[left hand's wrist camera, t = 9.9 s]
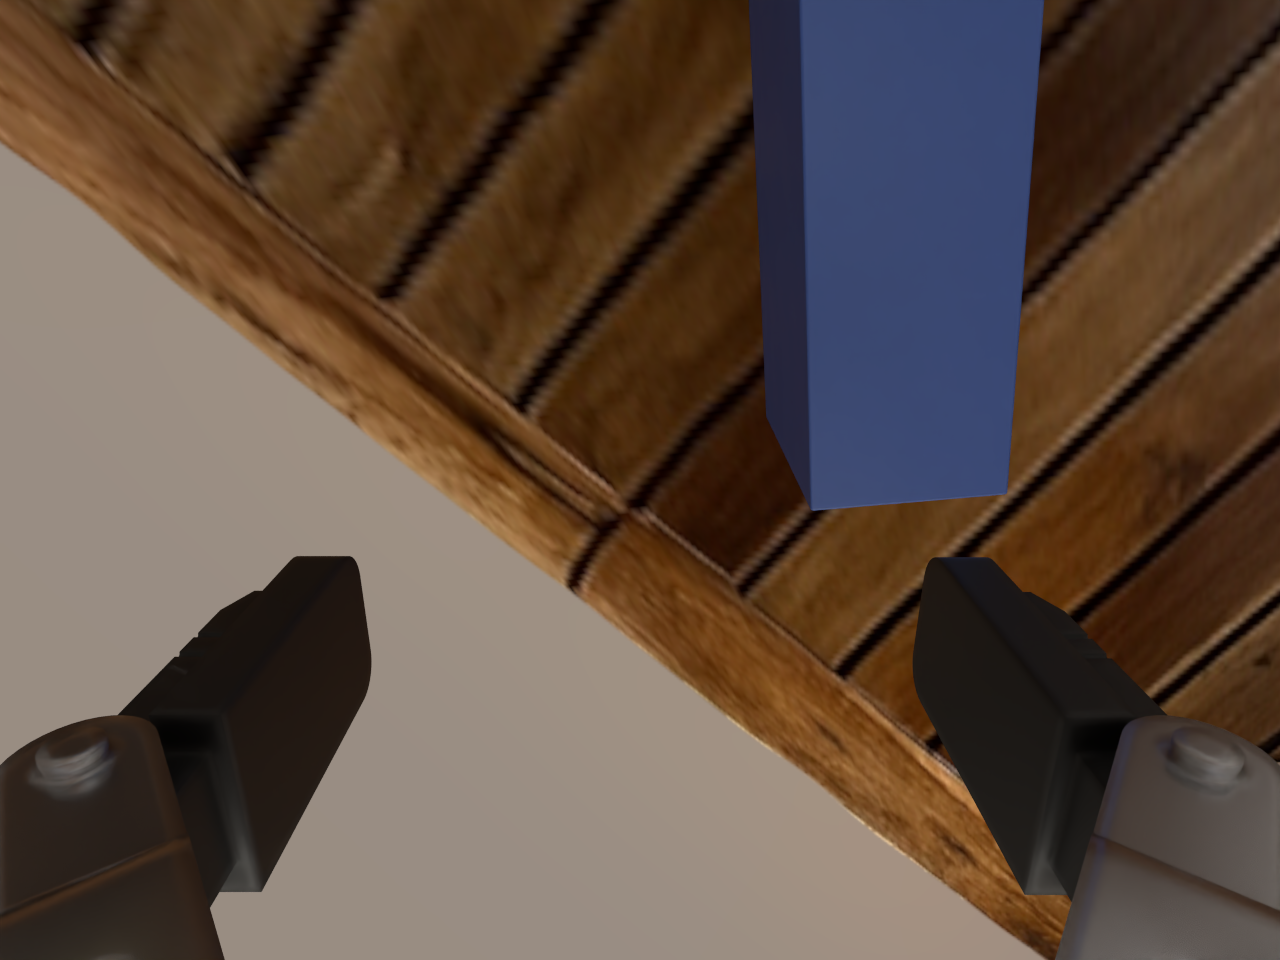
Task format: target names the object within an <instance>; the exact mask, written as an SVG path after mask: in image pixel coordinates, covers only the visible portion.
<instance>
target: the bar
mask: <svg viewBox="0 0 1280 960" xmlns="http://www.w3.org/2000/svg"><path fill="white" fill-rule="evenodd" d="M1043 7H1044V0H749V16H750V39H751V63H752V86H753V110H754V134H755V157H756V181H757V205H758V228H759V252H760V275H761V299H762V323H763V346H764V370H765V393H766V417H767V419H768V421H769V423H770V425H771V427H772V429H773V431H774V433H775V435H776V438H777V440H778V442H779V444H780V446H781V448H782V450H783V452H784V454H785V456H786V458H787V461H788V463H789V465H790V467H791V469H792V471H793V473H794V475H795V477H796V479H797V482H798V484H799V486H800V488H801V490H802V492H803V494H804V496H805V498H806V500H807V502H808V505H809V507H810V509H811V510H825V509H837V508H849V507H861V506H872V505H884V504H896V503H908V502H920V501H932V500H943V499H955V498H967V497H979V496H991V495H1002V494H1006V493H1007V486H1008V473H1009V460H1010V447H1011V433H1012V420H1013V407H1014V393H1015V380H1016V367H1017V353H1018V340H1019V327H1020V313H1021V300H1022V287H1023V273H1024V260H1025V247H1026V233H1027V220H1028V207H1029V194H1030V180H1031V167H1032V154H1033V140H1034V127H1035V114H1036V100H1037V87H1038V74H1039V60H1040V47H1041V34H1042V20H1043Z"/></svg>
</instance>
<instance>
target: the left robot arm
mask: <svg viewBox="0 0 1280 960" xmlns="http://www.w3.org/2000/svg"><path fill="white" fill-rule="evenodd" d="M370 675H371V649H370V642H369V635H368V628H367V621H366V614H365V607H364V600H363V593H362V586H361V579H360V573H359V569H358V565H357V563H356V561H355V560H354V559H353V558H352V557H350V556H297V557H294V558H293V559H292V560H290V562H289V563H288V564H287V565H286V566H285V567H284V568H283V569H282V570H281V571H280V572H279V573H278V575H277V576H276V577H275V578H274V579H273V580H272V581H271V582H270V583H269V584H268V586H266V588H265V589H264V590H263V591H253V592H252V593H250V594H248V595H246V596H245V597H243V598H241V599H239V600H237V601H236V602H234V603H232V604H230V605H229V606H227V607H225V608H223V609H222V610H220V611H219V612H218V613H217V614H216V615H215V616H214V617H213V618H212V619H211V620H210V621H209V622H208V623H207V624H206V625H205V626H204V627H203V628H202V629H201V630H200V631H199V633H198V637H194V638H193V639H192V640H191V641H190V642H189V643H188V644H187V645H186V646H185V647H184V648H183V649H182V650H181V651H180V655H179V657H174V658H173V659H172V660H171V661H170V662H169V663H168V664H167V665H166V666H165V667H164V668H163V669H162V670H161V671H160V672H159V673H158V674H157V675H156V676H155V677H154V679H152V680H151V682H150V683H149V684H148V685H147V686H146V687H145V688H144V689H143V690H142V691H141V692H140V693H139V694H138V695H137V696H136V697H135V698H134V699H133V700H132V701H131V702H130V703H129V704H128V705H127V706H126V707H125V708H124V709H123V710H122V711H121V712H120V713H119V714H118V715H114V716H104V717H97V718H92V719H88V720H84V721H80V722H76V723H73V724H70V725H67V726H64V727H62V728H59V729H56V730H54V731H52V732H50V733H47V734H45V735H43V736H41V737H39V738H37V739H36V740H34V741H32V742H30V743H28V744H27V745H25V746H24V747H22V748H21V749H19V750H18V751H16V752H15V753H14V754H12V755H11V756H10V757H9V758H7V759H6V760H5V761H4V762H3V763H2V764H1V765H0V960H225V959H224V956H223V952H222V949H221V945H220V942H219V938H218V935H217V931H216V928H215V925H214V921H213V918H212V914H211V911H210V907H211V905H212V903H213V902H214V900H215V898H216V897H217V895H218V893H219V892H261V891H262V890H263V888H264V886H265V884H266V882H267V880H268V878H269V877H270V875H271V873H272V871H273V869H274V867H275V865H276V864H277V862H278V860H279V858H280V856H281V854H282V852H283V850H284V849H285V847H286V845H287V843H288V841H289V839H290V837H291V835H292V833H293V832H294V830H295V828H296V826H297V824H298V822H299V820H300V819H301V817H302V815H303V813H304V811H305V809H306V807H307V805H308V804H309V802H310V800H311V798H312V796H313V794H314V792H315V790H316V789H317V787H318V785H319V783H320V781H321V779H322V777H323V775H324V774H325V772H326V770H327V768H328V766H329V764H330V762H331V760H332V758H333V757H334V755H335V753H336V751H337V749H338V747H339V745H340V743H341V742H342V740H343V738H344V736H345V734H346V732H347V730H348V729H349V727H350V725H351V723H352V721H353V719H354V717H355V715H356V714H357V712H358V710H359V708H360V706H361V704H362V702H363V700H364V698H365V696H366V693H367V690H368V686H369V682H370ZM913 676H914V682H915V687H916V691H917V694H918V697H919V699H920V701H921V703H922V705H923V707H924V709H925V711H926V713H927V715H928V716H929V718H930V720H931V722H932V724H933V726H934V727H935V729H936V731H937V733H938V735H939V737H940V739H941V740H942V742H943V744H944V746H945V748H946V750H947V752H948V753H949V755H950V757H951V759H952V761H953V763H954V765H955V766H956V768H957V770H958V772H959V774H960V776H961V777H962V779H963V781H964V783H965V785H966V787H967V789H968V790H969V792H970V794H971V796H972V798H973V800H974V802H975V803H976V805H977V807H978V809H979V811H980V813H981V815H982V816H983V818H984V820H985V822H986V824H987V826H988V828H989V829H990V831H991V833H992V835H993V837H994V839H995V840H996V842H997V844H998V846H999V848H1000V850H1001V852H1002V853H1003V855H1004V857H1005V859H1006V861H1007V863H1008V865H1009V866H1010V868H1011V870H1012V872H1013V874H1014V876H1015V878H1016V879H1017V881H1018V883H1019V885H1020V887H1021V889H1022V891H1023V892H1024V894H1025V895H1068V897H1069V898H1070V900H1071V902H1072V904H1071V907H1070V911H1069V914H1068V918H1067V921H1066V925H1065V928H1064V931H1063V935H1062V938H1061V942H1060V945H1059V949H1058V952H1057V956H1056V959H1055V960H1280V765H1279V764H1278V763H1277V762H1276V761H1275V760H1274V759H1273V758H1272V757H1270V756H1269V755H1268V754H1266V753H1265V752H1264V751H1262V750H1261V749H1259V748H1258V747H1256V746H1255V745H1253V744H1252V743H1250V742H1248V741H1246V740H1245V739H1243V738H1241V737H1239V736H1237V735H1235V734H1233V733H1230V732H1228V731H1226V730H1224V729H1221V728H1218V727H1216V726H1213V725H1210V724H1207V723H1204V722H1200V721H1197V720H1193V719H1188V718H1183V717H1176V716H1168V715H1167V714H1166V713H1165V712H1164V711H1163V710H1162V709H1161V708H1160V707H1159V706H1158V705H1157V704H1156V703H1155V702H1154V701H1153V700H1152V699H1151V698H1150V697H1149V696H1148V695H1147V694H1146V693H1145V692H1144V691H1143V690H1142V689H1141V688H1140V687H1139V686H1138V685H1137V684H1136V683H1135V682H1134V681H1133V680H1132V679H1131V678H1130V677H1129V676H1128V675H1127V674H1126V673H1125V672H1124V671H1123V670H1122V669H1121V668H1120V667H1119V666H1118V665H1117V664H1116V663H1115V662H1114V661H1113V660H1112V659H1107V657H1106V653H1105V652H1104V651H1103V650H1102V649H1101V648H1100V647H1099V646H1098V645H1097V644H1096V643H1095V642H1094V641H1093V640H1092V639H1088V638H1087V634H1086V633H1085V631H1084V630H1083V629H1082V628H1081V627H1080V626H1079V625H1078V624H1077V623H1076V622H1075V621H1074V620H1073V619H1072V618H1071V617H1070V616H1069V615H1068V614H1067V613H1066V612H1065V611H1063V610H1061V609H1059V608H1058V607H1056V606H1054V605H1052V604H1050V603H1049V602H1047V601H1045V600H1043V599H1042V598H1040V597H1038V596H1036V595H1035V594H1033V593H1031V592H1022V591H1021V590H1020V589H1019V588H1018V587H1017V586H1016V584H1015V583H1014V582H1013V581H1012V580H1011V579H1010V578H1009V577H1008V576H1007V575H1006V574H1005V573H1004V572H1003V571H1002V569H1001V568H1000V567H999V566H998V565H997V564H996V563H995V562H994V561H993V560H992V559H990V558H986V557H935V558H932V559H931V560H930V561H929V563H928V565H927V567H926V571H925V576H924V582H923V589H922V596H921V603H920V610H919V617H918V624H917V631H916V638H915V645H914V652H913Z"/></svg>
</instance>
